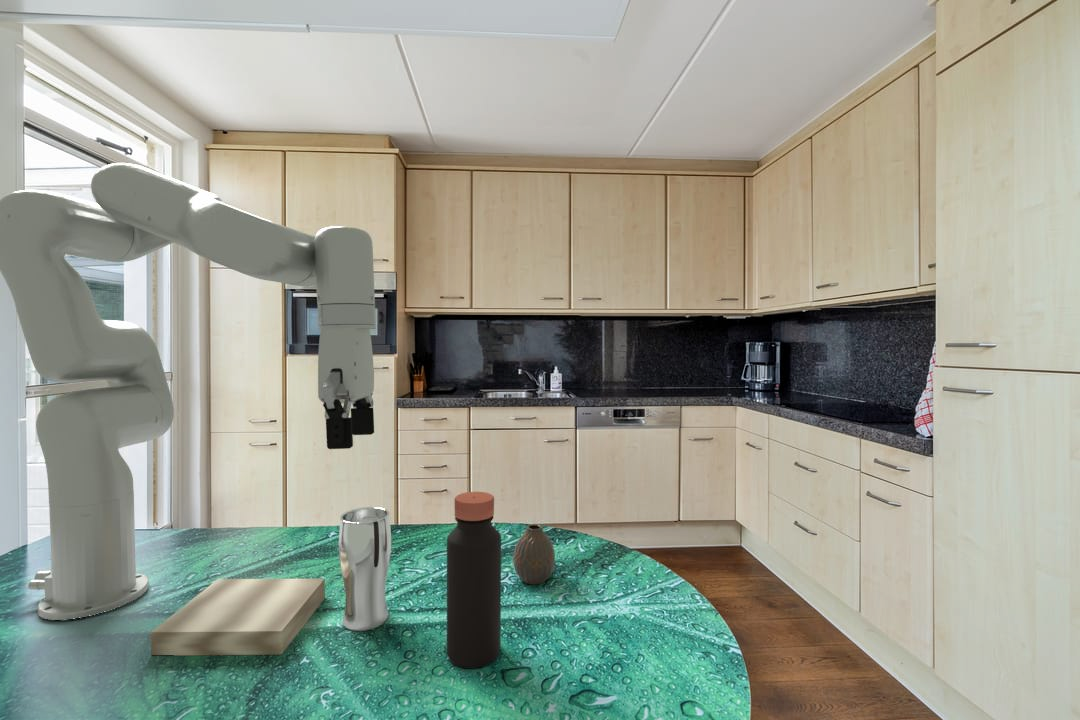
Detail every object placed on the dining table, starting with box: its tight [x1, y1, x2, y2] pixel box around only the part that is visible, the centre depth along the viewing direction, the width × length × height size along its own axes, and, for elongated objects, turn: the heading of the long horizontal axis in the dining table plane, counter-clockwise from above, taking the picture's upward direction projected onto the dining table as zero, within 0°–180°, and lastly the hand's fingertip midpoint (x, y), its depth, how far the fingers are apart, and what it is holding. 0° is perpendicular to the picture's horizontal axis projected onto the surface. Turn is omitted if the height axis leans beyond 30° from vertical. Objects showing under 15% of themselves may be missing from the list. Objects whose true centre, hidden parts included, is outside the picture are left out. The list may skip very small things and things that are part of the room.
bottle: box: [446, 491, 502, 669], centre depth 65 cm, size 7×7×20 cm
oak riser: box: [150, 578, 326, 656], centre depth 71 cm, size 16×14×3 cm
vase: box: [512, 523, 556, 585], centre depth 85 cm, size 7×7×9 cm
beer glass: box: [338, 506, 392, 632], centre depth 72 cm, size 7×7×15 cm
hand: (352, 440), depth 72 cm, fingers open, 9 cm apart
